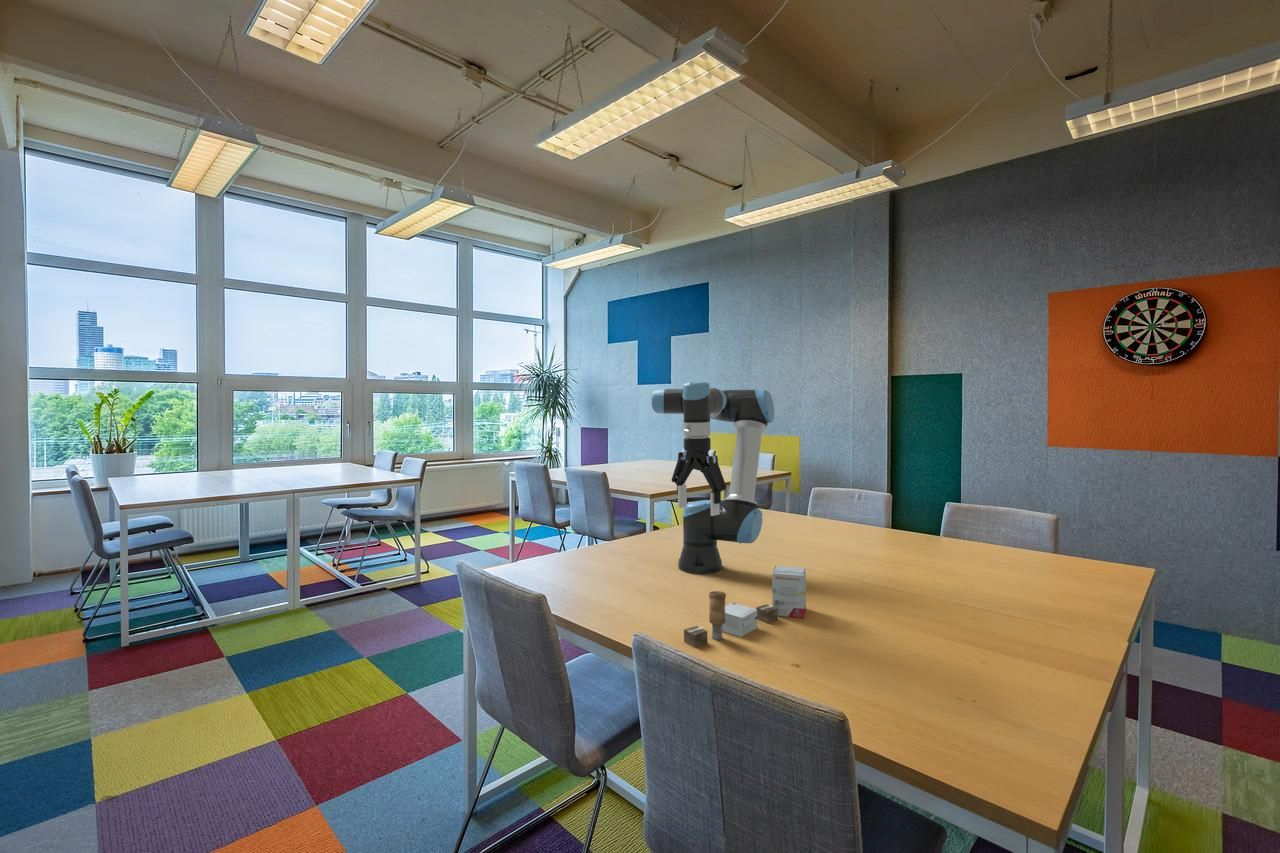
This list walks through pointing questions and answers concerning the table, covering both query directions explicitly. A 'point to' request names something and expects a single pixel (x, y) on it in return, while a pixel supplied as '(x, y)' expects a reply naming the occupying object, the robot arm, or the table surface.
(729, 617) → the small box
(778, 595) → the ink box
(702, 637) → the joist marker
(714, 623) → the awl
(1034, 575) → the table surface
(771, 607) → the joist marker
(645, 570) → the table surface
